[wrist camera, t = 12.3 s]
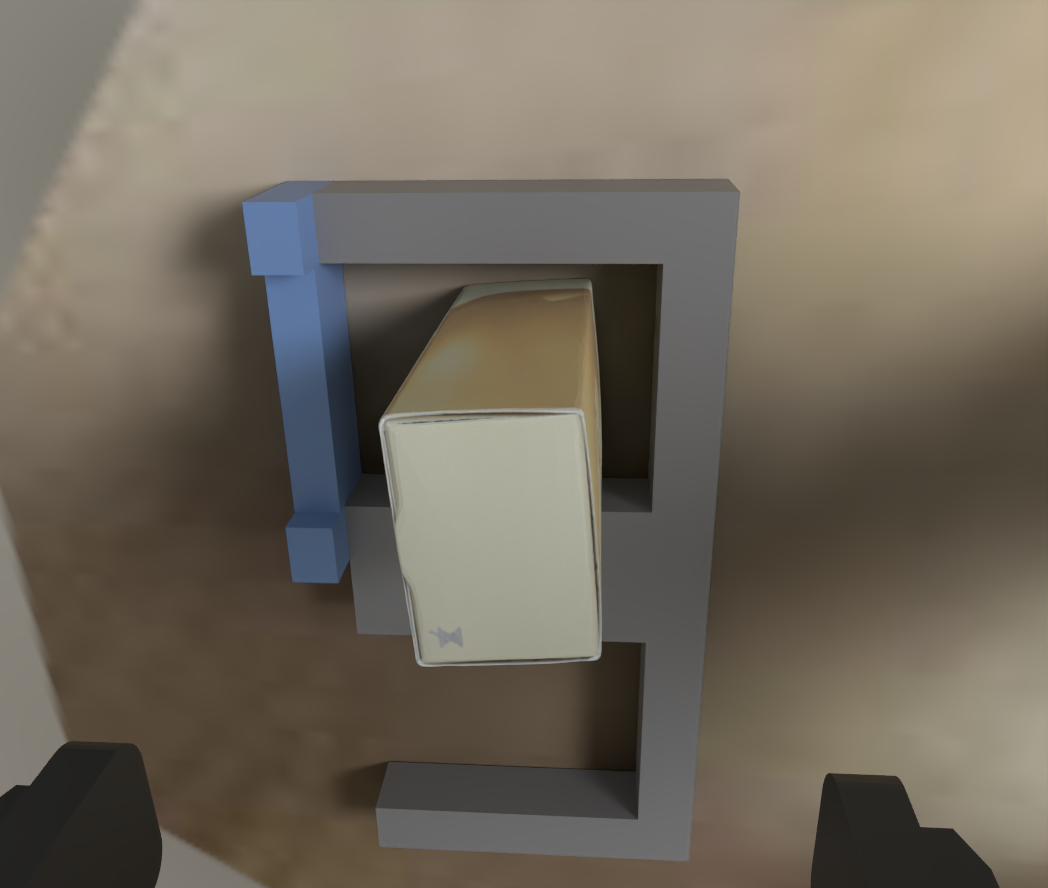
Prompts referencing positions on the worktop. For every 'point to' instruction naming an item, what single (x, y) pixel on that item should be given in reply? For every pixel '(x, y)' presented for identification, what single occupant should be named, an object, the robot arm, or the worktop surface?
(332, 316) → the rail
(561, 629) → the skincare box
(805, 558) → the worktop surface
